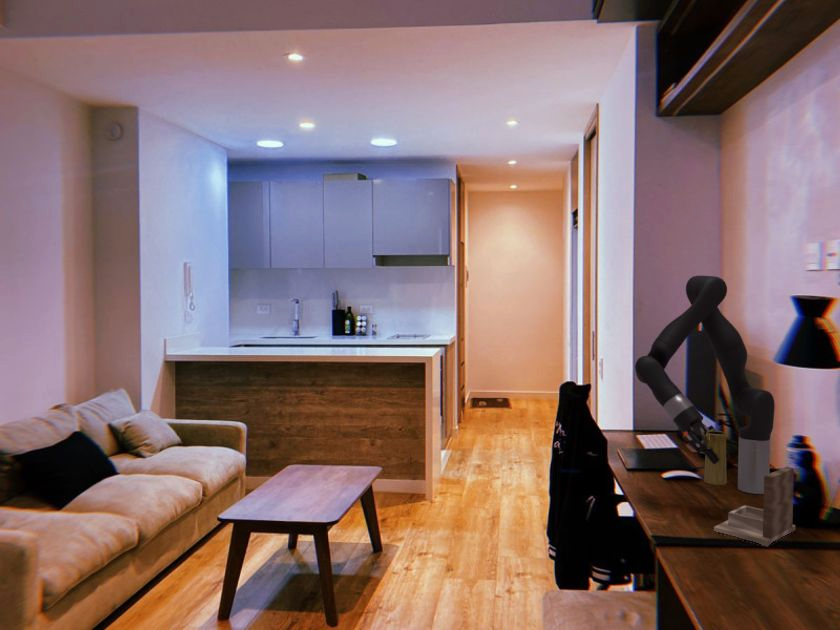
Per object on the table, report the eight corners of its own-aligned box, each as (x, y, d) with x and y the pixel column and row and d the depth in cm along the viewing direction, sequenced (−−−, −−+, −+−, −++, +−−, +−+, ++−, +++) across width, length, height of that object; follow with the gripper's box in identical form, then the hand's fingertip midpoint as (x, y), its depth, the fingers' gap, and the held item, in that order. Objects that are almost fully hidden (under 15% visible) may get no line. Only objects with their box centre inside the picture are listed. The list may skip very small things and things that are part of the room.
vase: (726, 479, 203) (726, 430, 202) (727, 485, 197) (728, 435, 196) (703, 478, 205) (704, 429, 204) (704, 484, 199) (705, 434, 198)
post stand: (743, 517, 202) (744, 457, 202) (795, 530, 192) (796, 467, 191) (713, 532, 190) (715, 468, 190) (767, 546, 180) (768, 478, 179)
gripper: (679, 408, 201) (719, 457, 193) (703, 401, 210) (743, 448, 202) (661, 423, 205) (700, 472, 197) (686, 417, 215) (724, 463, 206)
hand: (721, 460), depth 199 cm, fingers closed on vase, 5 cm apart
